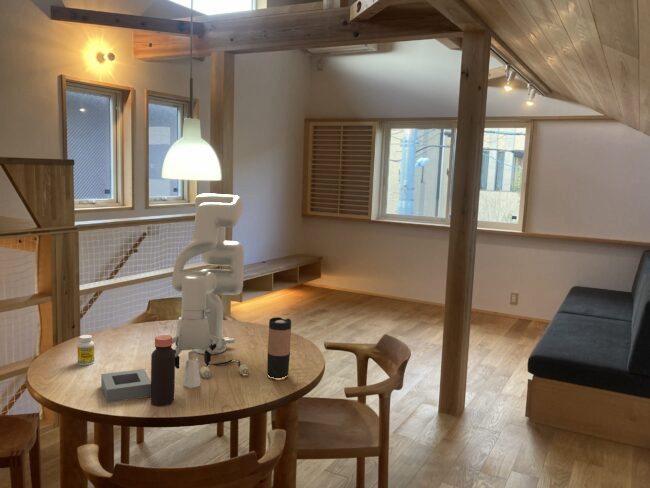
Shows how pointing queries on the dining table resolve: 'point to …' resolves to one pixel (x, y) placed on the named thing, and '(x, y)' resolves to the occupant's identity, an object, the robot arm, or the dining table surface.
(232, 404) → the dining table surface
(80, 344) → the supplement bottle
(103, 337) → the dining table surface
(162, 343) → the dark brown water bottle
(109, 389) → the frame
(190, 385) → the pepper shaker
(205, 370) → the cable
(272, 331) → the travel mug
